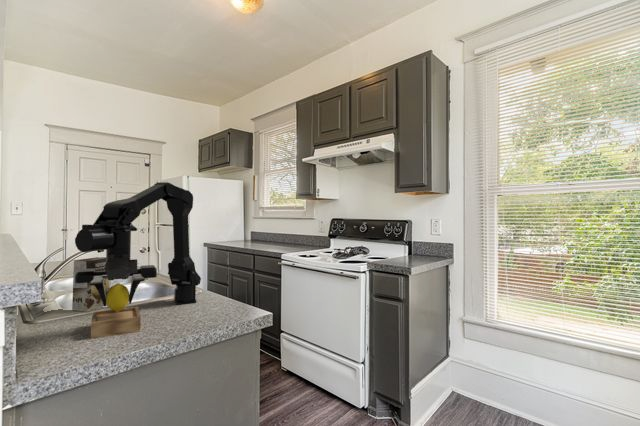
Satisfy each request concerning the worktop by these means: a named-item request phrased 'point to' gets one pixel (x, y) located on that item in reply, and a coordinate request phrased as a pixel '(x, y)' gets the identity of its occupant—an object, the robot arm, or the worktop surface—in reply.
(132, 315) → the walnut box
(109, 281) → the cookie box
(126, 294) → the lemon
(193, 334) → the worktop surface
